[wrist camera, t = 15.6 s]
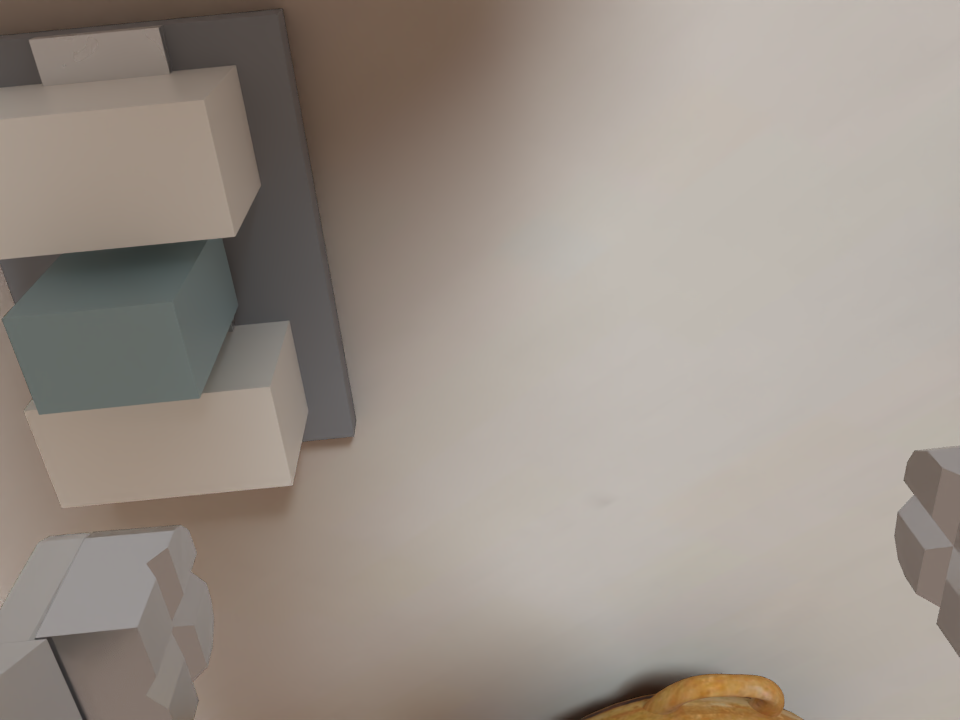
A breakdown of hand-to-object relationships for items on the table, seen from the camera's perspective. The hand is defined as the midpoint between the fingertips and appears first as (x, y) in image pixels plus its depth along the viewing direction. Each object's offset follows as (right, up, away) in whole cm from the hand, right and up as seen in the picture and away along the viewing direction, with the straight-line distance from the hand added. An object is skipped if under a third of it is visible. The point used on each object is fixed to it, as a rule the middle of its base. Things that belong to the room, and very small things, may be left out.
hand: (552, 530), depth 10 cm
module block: (-15, +6, +29) cm, 33 cm away
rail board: (-15, +7, +31) cm, 35 cm away
